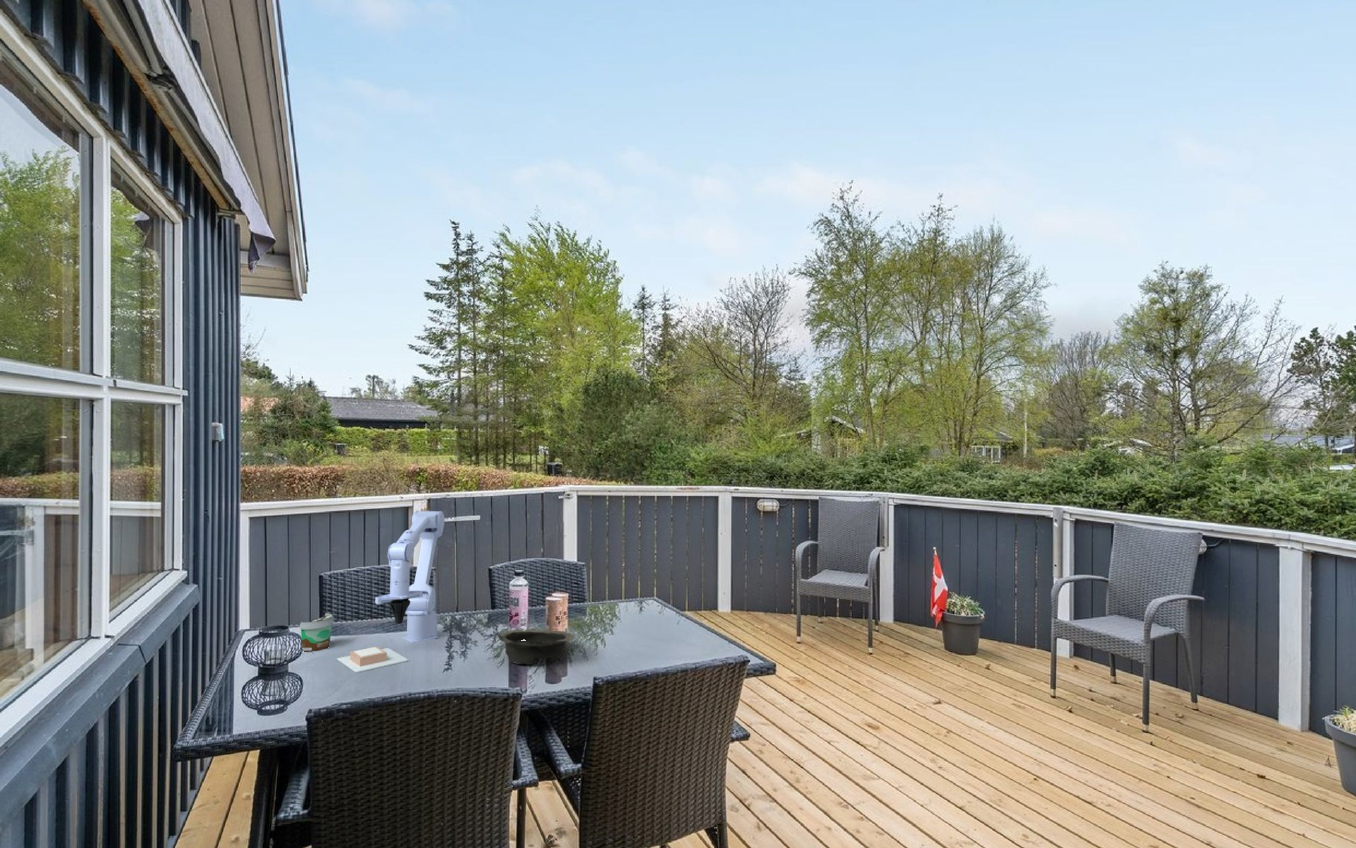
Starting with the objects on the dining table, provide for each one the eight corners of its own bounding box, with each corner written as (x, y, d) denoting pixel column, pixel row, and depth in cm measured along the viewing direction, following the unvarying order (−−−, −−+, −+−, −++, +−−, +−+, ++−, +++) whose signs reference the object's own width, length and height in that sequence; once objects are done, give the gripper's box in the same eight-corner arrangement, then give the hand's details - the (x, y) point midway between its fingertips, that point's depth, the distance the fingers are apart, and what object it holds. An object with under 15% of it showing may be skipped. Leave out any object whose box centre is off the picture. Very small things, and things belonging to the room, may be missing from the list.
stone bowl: (504, 674, 205) (504, 642, 206) (491, 654, 228) (491, 626, 229) (584, 663, 215) (584, 633, 216) (564, 645, 238) (564, 618, 239)
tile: (376, 646, 220) (350, 651, 214) (386, 652, 214) (360, 657, 208) (376, 654, 220) (350, 659, 214) (386, 660, 214) (359, 666, 208)
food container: (315, 656, 218) (316, 624, 218) (298, 654, 219) (299, 622, 219) (342, 644, 230) (342, 614, 230) (325, 642, 231) (326, 612, 231)
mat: (386, 648, 227) (386, 646, 227) (410, 662, 214) (410, 660, 214) (335, 659, 216) (335, 657, 216) (356, 674, 203) (357, 672, 203)
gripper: (382, 586, 213) (381, 630, 213) (427, 579, 223) (426, 621, 223) (373, 582, 218) (372, 625, 218) (417, 575, 228) (416, 616, 228)
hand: (398, 623), depth 221 cm, fingers closed
